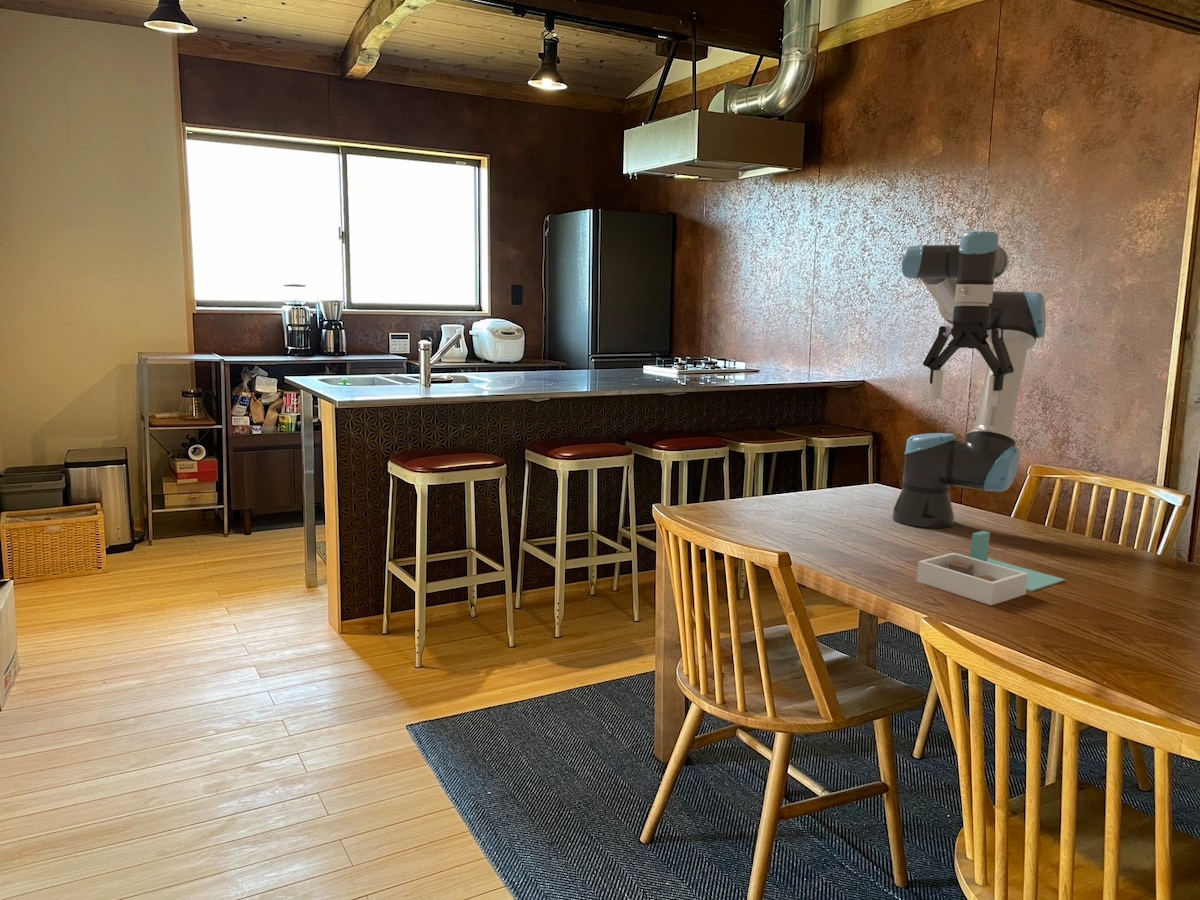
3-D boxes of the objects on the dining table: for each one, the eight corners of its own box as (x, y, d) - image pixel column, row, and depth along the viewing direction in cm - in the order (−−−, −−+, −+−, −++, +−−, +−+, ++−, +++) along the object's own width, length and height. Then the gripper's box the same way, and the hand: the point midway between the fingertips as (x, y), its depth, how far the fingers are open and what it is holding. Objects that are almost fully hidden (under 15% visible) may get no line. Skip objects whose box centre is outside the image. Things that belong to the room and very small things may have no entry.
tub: (951, 575, 180) (953, 552, 180) (1025, 598, 168) (1028, 573, 167) (916, 585, 174) (918, 561, 173) (990, 609, 161) (993, 583, 160)
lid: (988, 564, 190) (992, 527, 188) (1063, 585, 177) (1068, 546, 175) (954, 573, 183) (958, 535, 181) (1031, 596, 169) (1035, 555, 168)
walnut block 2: (986, 592, 168) (988, 575, 167) (999, 598, 165) (1001, 580, 164) (971, 593, 167) (973, 576, 166) (985, 599, 163) (987, 582, 163)
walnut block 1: (954, 576, 177) (956, 560, 176) (971, 581, 175) (973, 564, 174) (947, 580, 175) (949, 563, 174) (964, 584, 172) (966, 567, 171)
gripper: (912, 303, 195) (904, 397, 198) (1018, 305, 175) (1007, 409, 178) (932, 304, 199) (924, 395, 203) (1038, 306, 179) (1027, 408, 182)
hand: (963, 402), depth 190 cm, fingers open, 13 cm apart
